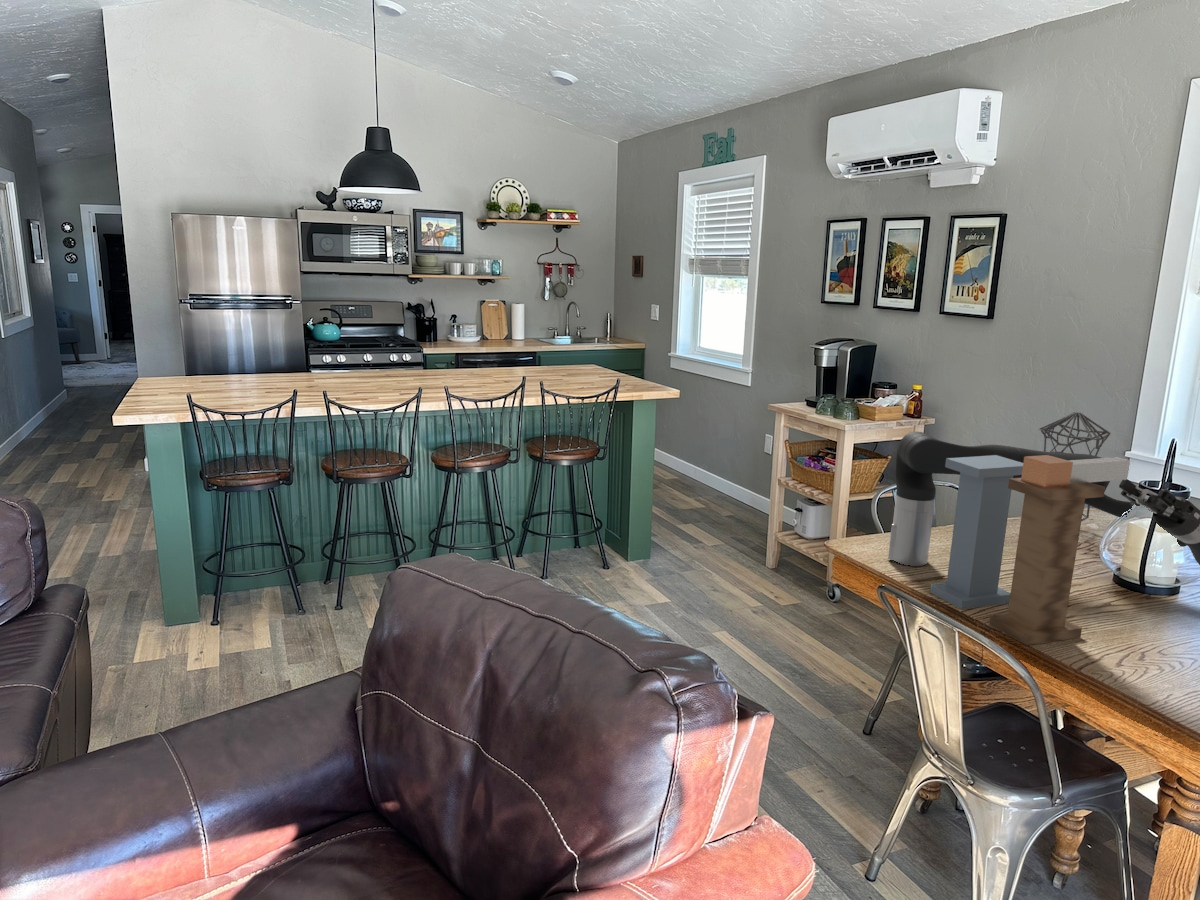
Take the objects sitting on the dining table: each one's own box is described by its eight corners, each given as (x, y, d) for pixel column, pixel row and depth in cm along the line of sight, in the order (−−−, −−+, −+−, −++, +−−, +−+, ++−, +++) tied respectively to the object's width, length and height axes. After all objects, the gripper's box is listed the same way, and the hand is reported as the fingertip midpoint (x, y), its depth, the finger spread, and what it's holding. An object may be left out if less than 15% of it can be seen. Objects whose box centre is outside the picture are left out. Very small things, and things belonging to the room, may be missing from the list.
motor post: (978, 586, 192) (996, 455, 185) (1011, 602, 183) (1031, 465, 176) (930, 592, 188) (946, 458, 181) (961, 609, 179) (979, 469, 172)
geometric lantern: (1036, 518, 248) (1056, 405, 240) (1093, 531, 237) (1117, 414, 229) (1017, 528, 237) (1038, 410, 229) (1077, 542, 226) (1101, 419, 218)
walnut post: (1040, 617, 176) (1062, 474, 169) (1080, 637, 166) (1105, 487, 159) (989, 624, 171) (1009, 478, 164) (1026, 645, 162) (1049, 491, 155)
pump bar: (1107, 474, 170) (1111, 450, 169) (1133, 481, 164) (1138, 457, 163) (1020, 480, 163) (1024, 456, 162) (1045, 488, 157) (1049, 463, 156)
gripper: (1207, 546, 168) (1164, 512, 162) (1143, 525, 182) (1101, 494, 176) (1225, 514, 168) (1183, 480, 162) (1160, 496, 181) (1119, 464, 175)
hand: (1141, 487), depth 169 cm, fingers open, 8 cm apart
